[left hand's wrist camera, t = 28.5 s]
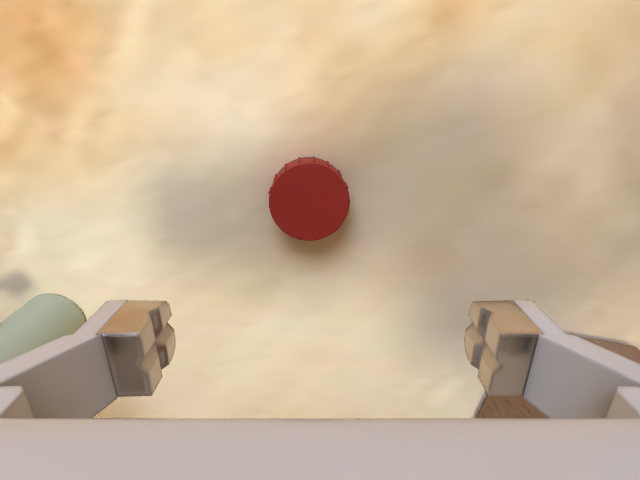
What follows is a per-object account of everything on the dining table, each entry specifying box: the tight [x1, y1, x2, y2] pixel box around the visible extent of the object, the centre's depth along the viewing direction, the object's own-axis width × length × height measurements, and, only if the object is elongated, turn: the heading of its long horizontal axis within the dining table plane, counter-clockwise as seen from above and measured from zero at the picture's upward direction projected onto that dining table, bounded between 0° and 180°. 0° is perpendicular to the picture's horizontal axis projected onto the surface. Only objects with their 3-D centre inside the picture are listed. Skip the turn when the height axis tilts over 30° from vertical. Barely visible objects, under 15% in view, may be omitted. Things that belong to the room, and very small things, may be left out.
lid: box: [269, 157, 350, 240], centre depth 23 cm, size 5×5×2 cm
